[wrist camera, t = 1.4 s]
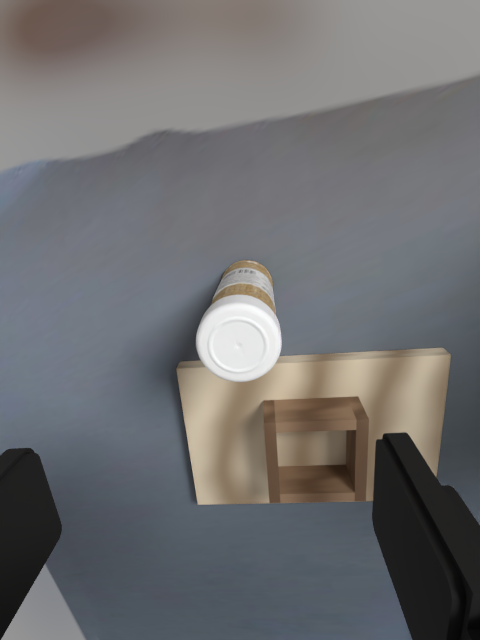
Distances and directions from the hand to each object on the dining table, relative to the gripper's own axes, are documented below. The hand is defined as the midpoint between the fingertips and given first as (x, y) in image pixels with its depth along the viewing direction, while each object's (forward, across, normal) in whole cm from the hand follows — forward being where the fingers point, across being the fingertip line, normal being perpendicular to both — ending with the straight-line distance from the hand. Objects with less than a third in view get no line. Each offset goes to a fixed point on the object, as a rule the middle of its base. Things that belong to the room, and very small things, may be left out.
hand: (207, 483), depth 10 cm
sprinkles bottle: (+23, 0, 0) cm, 23 cm away
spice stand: (+23, -6, +15) cm, 28 cm away
